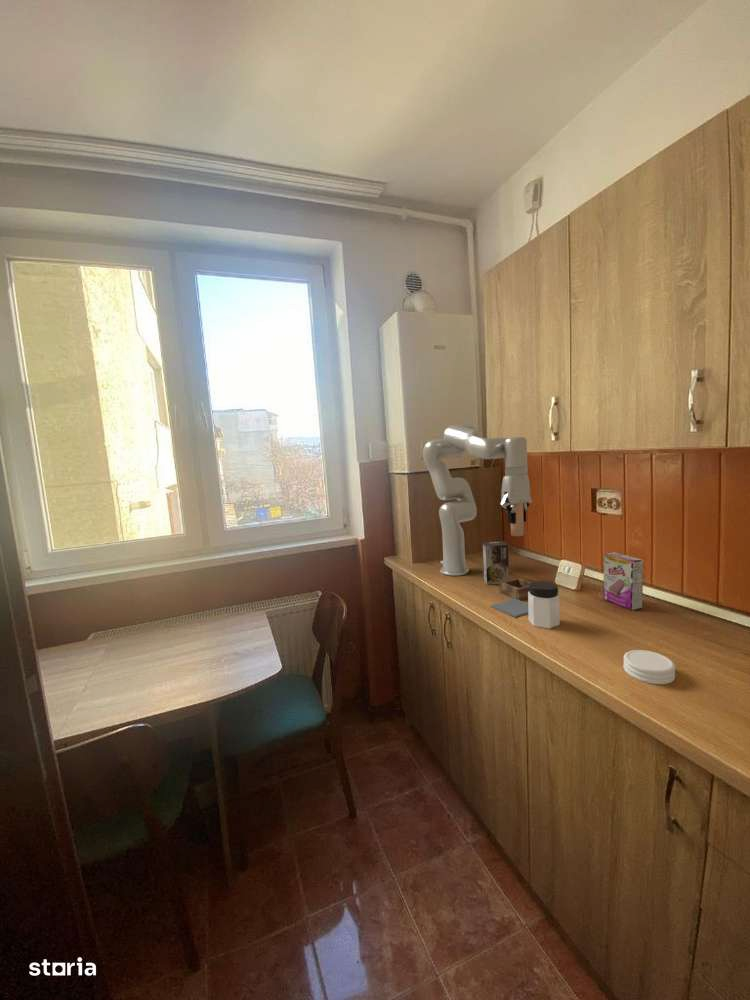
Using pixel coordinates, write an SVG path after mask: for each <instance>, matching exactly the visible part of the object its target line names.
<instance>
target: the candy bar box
mask: <svg viewBox="0 0 750 1000" xmlns="http://www.w3.org/2000/svg"><path fill="white" fill-rule="evenodd" d="M602 582H603V587H602V588H603V594H602V595H603V596H602V597H603V598H602V599H603V600H604V601H607V602H609V603H612V604H614V605H617V606H620V607H622V608H625V609H627V610H629V611H637V610H639V609H640V608H641V609H643V599H644V598H643V597H644V596H643V592H644V587H643V585H644V559H641V558H639V557H634V556H629V555H626V554H623V553H619V552H615V551H613V552H607V553H606V552H605V553H604V554H603V581H602ZM636 609H637V610H636Z"/></svg>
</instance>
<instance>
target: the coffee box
mask: <svg viewBox="0 0 750 1000" xmlns="http://www.w3.org/2000/svg"><path fill="white" fill-rule="evenodd" d="M482 559H483V561H482V562H483V581H484V583H485V584H486V585H500V583H501V582H504V581H508V580H510V567H509V565H510V564H509V544H507V542H506V541H486V542H485V541H484V542H482Z"/></svg>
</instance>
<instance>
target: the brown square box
mask: <svg viewBox="0 0 750 1000" xmlns="http://www.w3.org/2000/svg"><path fill="white" fill-rule="evenodd" d="M532 582H533V581H530V580H529V581H528V580H526V579H523V578H519V577H518V578H517V577H516V578H513V579H509V580H508V581H504V582H501V583H500V584H499V593H500V594H501V595H504V596H506V597H509V598H512V599H514V598H515V599H517V600H520V601H523V600H525V599H528V592H529V584H530V583H532Z"/></svg>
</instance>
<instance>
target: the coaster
mask: <svg viewBox="0 0 750 1000" xmlns="http://www.w3.org/2000/svg"><path fill="white" fill-rule="evenodd" d="M623 670H624V671H625V672H626V674H627V675H629V677H632V678H634V679H636V680H638V681H640V682H643V683H646V684H647V683H648V684H651V685H668V684H671V683H673V682H674V680H675V678H676V671H675V670H676V665H675V663H674V662H673V661H672V660H671V659H670V658H669V657H667V656H665V655H663V654H661V653H658V652H655V651H651V650H643V649H634V650H633V649H632V650H629V651H627V652H625V654H624V655H623Z"/></svg>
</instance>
